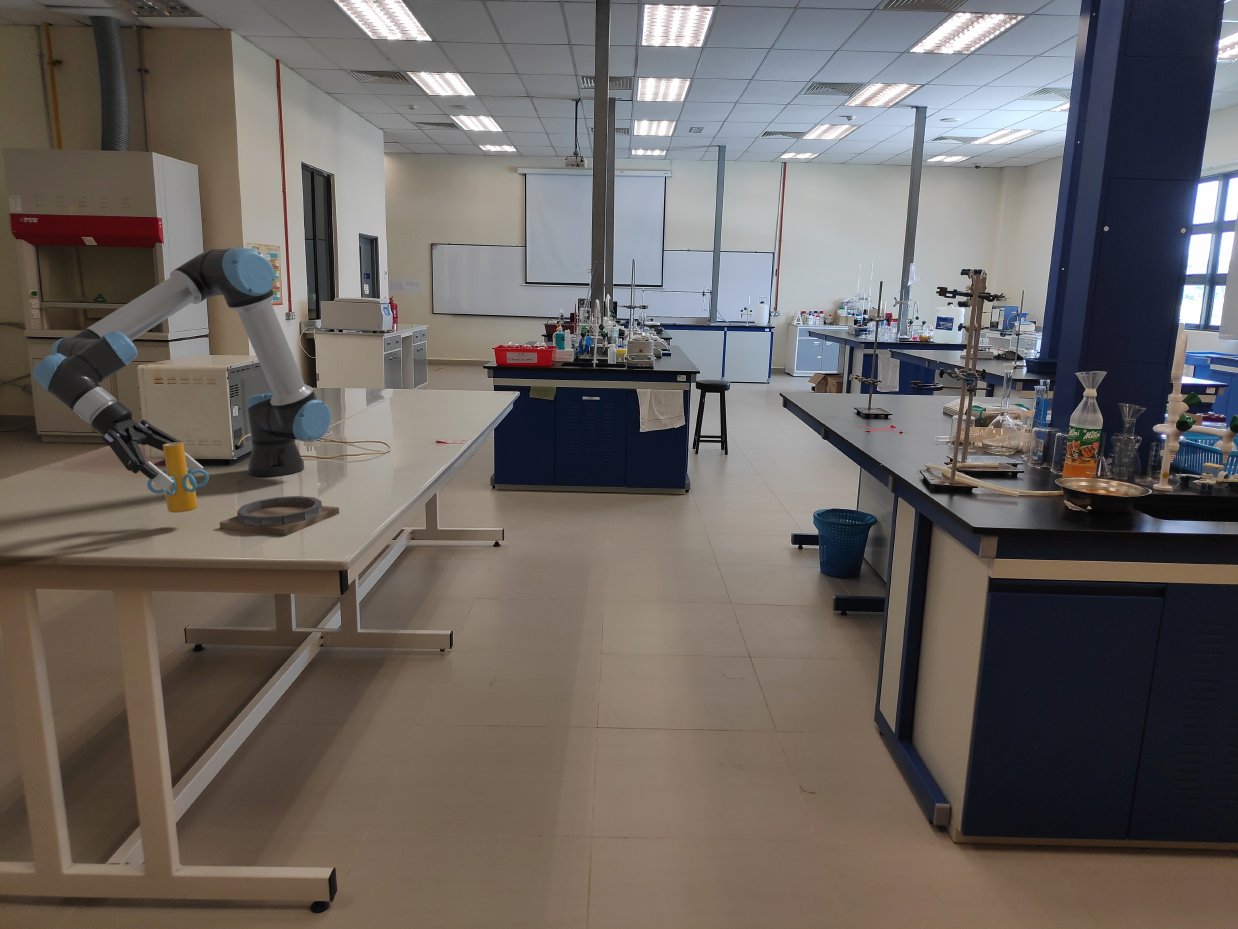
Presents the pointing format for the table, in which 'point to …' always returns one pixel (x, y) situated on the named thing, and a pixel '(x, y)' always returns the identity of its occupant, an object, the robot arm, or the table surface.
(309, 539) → the table surface
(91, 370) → the robot arm
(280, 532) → the hub board
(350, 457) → the table surface
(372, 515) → the table surface
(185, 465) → the cylinder
